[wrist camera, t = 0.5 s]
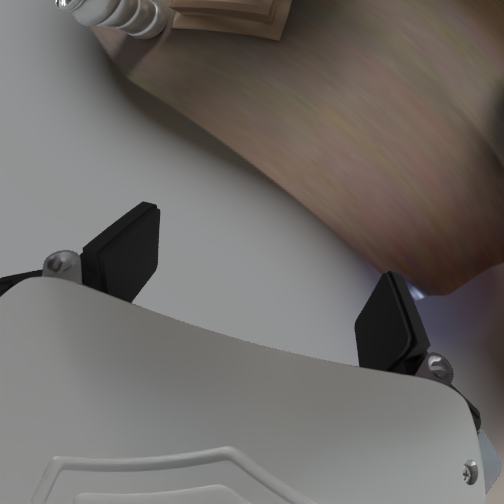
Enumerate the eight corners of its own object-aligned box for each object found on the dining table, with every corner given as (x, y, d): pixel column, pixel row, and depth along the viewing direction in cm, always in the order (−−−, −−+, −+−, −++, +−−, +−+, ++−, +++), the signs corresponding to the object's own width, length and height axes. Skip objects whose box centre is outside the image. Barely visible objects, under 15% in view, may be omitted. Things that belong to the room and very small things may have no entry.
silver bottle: (132, 41, 31) (40, 26, 14) (143, 6, 28) (58, -24, 11) (166, 42, 31) (77, 17, 14) (178, 5, 28) (98, -38, 10)
